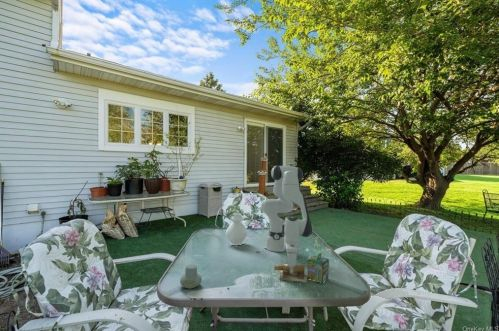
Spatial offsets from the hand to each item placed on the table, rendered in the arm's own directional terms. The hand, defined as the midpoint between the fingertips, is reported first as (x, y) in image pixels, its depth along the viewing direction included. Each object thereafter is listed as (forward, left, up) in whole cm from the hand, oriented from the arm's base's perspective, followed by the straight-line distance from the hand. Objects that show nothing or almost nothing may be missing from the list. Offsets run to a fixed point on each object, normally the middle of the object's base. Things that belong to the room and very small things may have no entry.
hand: (291, 269), depth 143 cm
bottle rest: (0, +1, -5) cm, 5 cm away
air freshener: (+21, -52, -5) cm, 56 cm away
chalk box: (0, +15, -5) cm, 16 cm away
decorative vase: (-57, -43, -5) cm, 72 cm away
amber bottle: (-2, -1, -1) cm, 3 cm away
